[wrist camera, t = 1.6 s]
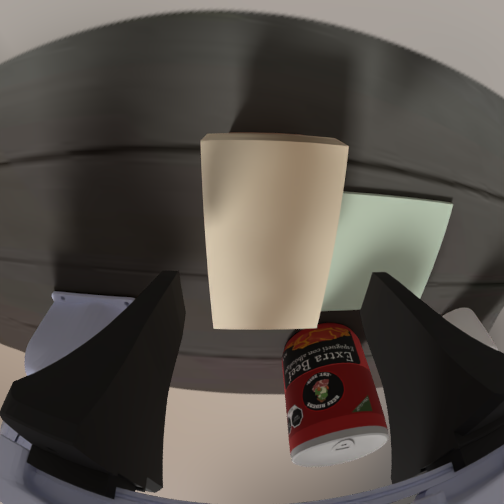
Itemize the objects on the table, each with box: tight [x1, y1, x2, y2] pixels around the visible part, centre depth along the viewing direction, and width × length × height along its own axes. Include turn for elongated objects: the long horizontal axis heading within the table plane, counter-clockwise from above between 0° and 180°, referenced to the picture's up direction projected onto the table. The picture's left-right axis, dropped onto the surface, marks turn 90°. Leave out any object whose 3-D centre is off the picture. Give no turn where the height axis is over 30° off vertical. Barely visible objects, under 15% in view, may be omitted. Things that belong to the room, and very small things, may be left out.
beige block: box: [201, 133, 349, 329], centre depth 14 cm, size 6×10×2 cm, turn 179°
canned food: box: [282, 323, 389, 467], centre depth 21 cm, size 8×8×11 cm
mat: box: [321, 191, 453, 311], centre depth 20 cm, size 11×10×1 cm
